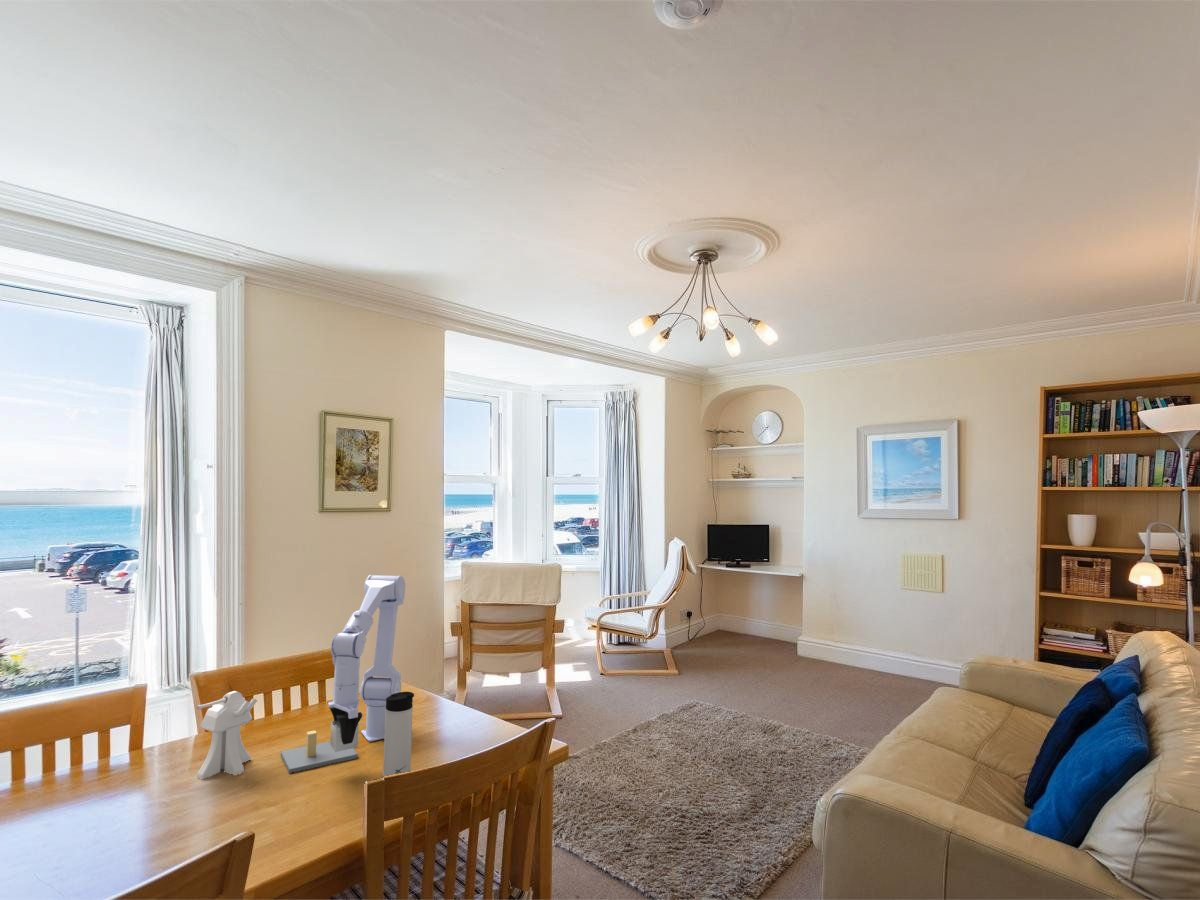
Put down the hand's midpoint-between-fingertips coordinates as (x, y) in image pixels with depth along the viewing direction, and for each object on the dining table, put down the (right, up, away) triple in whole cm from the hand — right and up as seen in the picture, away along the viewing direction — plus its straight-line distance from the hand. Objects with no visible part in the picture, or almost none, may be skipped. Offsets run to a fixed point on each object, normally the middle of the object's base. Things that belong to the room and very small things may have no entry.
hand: (344, 738), depth 157 cm
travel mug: (+14, -8, -3) cm, 16 cm away
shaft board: (-10, -8, +8) cm, 15 cm away
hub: (0, -2, 0) cm, 2 cm away
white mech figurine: (-30, -7, 0) cm, 31 cm away
